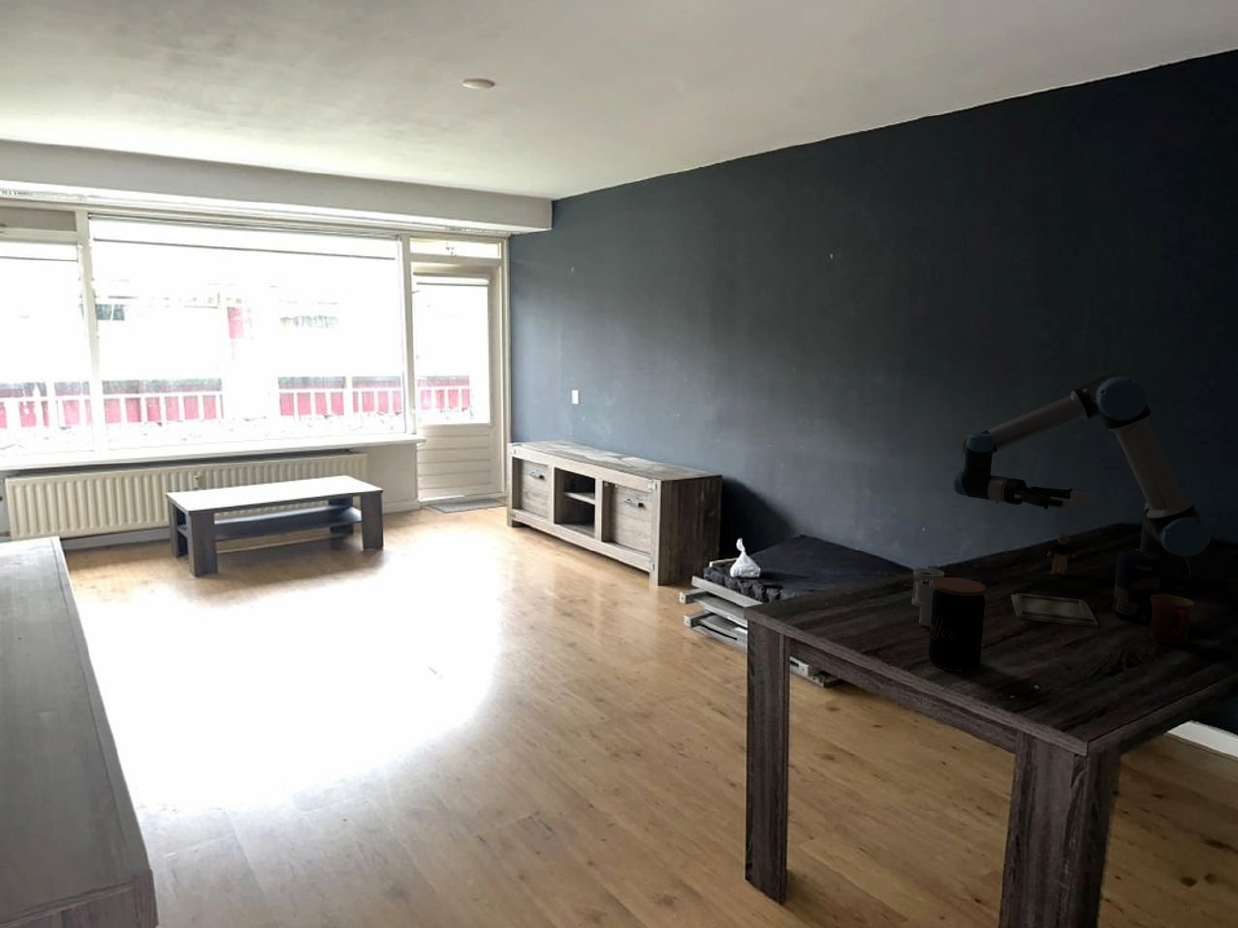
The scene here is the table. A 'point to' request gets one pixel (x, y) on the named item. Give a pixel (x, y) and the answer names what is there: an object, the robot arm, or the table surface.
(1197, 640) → the table surface
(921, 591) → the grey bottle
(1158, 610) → the mug
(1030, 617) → the square tray
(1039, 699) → the table surface
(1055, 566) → the grandmother figurine
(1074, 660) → the table surface
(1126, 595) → the canister
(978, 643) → the coffee jar
